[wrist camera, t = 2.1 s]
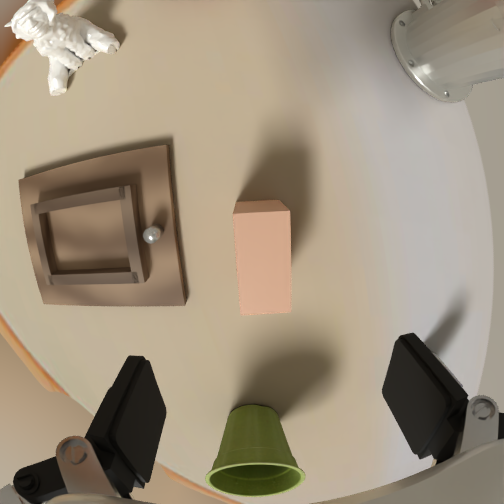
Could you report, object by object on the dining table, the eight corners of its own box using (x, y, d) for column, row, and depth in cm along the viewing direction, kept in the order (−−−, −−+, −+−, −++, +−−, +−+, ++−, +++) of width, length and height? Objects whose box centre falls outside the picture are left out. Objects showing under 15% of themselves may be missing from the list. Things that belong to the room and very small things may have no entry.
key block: (236, 201, 26) (232, 213, 19) (278, 199, 26) (290, 210, 19) (241, 280, 28) (240, 315, 22) (280, 278, 28) (291, 312, 22)
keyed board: (23, 179, 24) (8, 181, 21) (169, 145, 24) (159, 142, 21) (47, 300, 29) (35, 310, 26) (186, 301, 29) (180, 315, 26)
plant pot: (196, 420, 35) (186, 482, 24) (247, 379, 32) (248, 452, 22) (257, 446, 37) (260, 502, 26) (311, 412, 35) (325, 474, 24)
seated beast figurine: (58, 100, 22) (-15, 85, 10) (43, 55, 19) (-18, 32, 8) (123, 48, 21) (66, 1, 9) (103, 7, 18) (53, -38, 7)
